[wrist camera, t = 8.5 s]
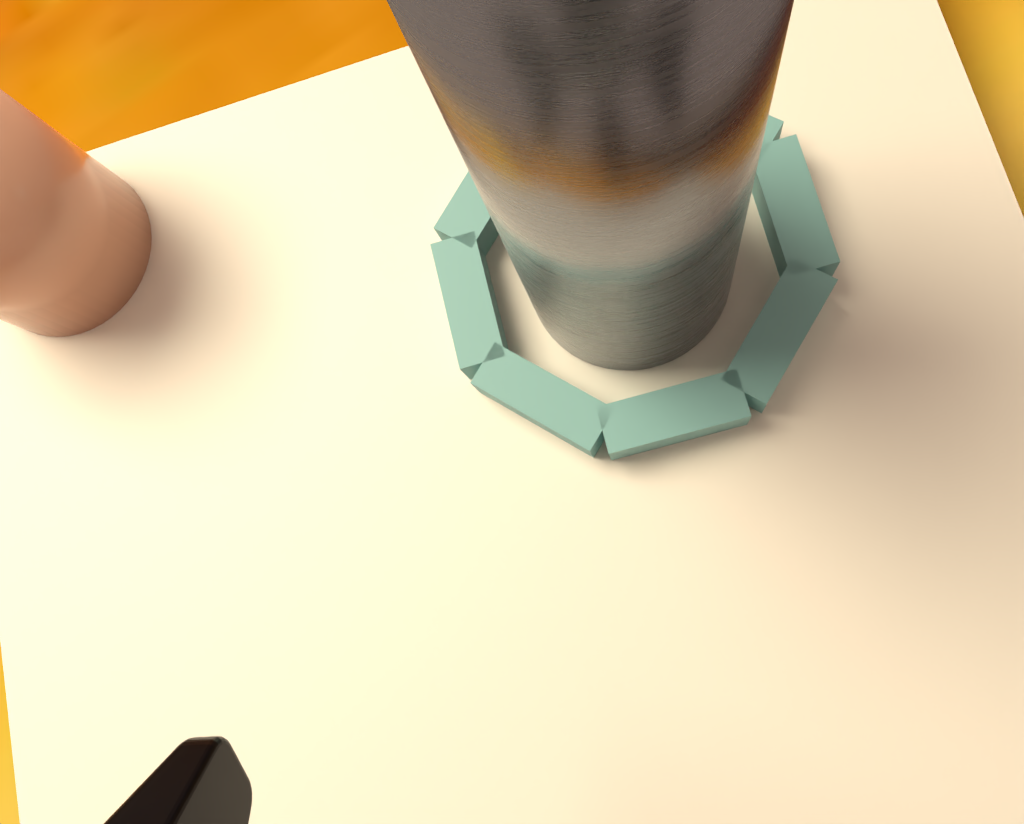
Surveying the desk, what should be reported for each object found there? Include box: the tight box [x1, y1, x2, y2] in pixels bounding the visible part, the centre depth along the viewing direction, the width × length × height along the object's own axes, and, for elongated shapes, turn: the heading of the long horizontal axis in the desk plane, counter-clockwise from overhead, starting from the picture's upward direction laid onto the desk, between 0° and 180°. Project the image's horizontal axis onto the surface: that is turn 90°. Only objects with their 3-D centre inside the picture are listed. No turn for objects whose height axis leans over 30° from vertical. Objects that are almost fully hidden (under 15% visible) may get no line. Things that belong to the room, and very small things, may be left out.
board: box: [0, 0, 1024, 824], centre depth 19 cm, size 24×24×3 cm
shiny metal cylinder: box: [387, 0, 794, 370], centre depth 13 cm, size 4×4×13 cm
